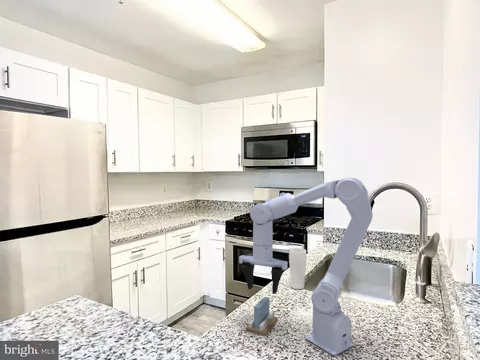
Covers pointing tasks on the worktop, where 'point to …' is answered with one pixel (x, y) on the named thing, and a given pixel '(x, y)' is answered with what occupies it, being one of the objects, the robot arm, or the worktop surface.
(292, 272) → the drinking glass
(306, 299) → the worktop surface
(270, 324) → the bottom track
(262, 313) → the door panel
